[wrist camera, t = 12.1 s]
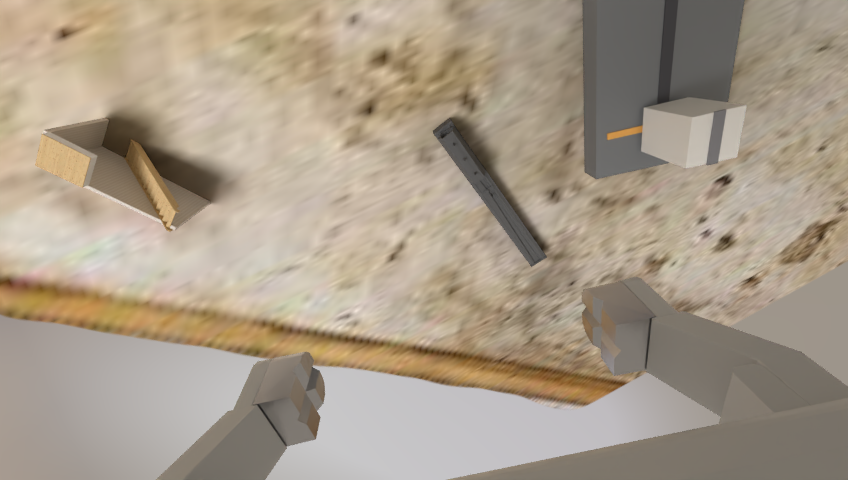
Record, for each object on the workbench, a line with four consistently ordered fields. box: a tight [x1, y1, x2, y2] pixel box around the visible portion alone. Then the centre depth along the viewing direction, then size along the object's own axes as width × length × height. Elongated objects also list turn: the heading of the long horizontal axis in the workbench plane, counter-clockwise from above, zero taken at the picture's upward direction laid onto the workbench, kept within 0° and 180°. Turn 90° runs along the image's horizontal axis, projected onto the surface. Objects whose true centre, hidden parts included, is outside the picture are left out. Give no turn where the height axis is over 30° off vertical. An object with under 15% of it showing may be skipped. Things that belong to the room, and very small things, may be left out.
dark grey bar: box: [433, 118, 547, 267], centre depth 37 cm, size 19×3×4 cm, turn 37°
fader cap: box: [641, 97, 747, 169], centre depth 30 cm, size 4×4×6 cm
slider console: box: [583, 0, 744, 179], centre depth 31 cm, size 22×12×3 cm, turn 12°
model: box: [35, 118, 210, 232], centre depth 32 cm, size 3×11×8 cm, turn 56°
